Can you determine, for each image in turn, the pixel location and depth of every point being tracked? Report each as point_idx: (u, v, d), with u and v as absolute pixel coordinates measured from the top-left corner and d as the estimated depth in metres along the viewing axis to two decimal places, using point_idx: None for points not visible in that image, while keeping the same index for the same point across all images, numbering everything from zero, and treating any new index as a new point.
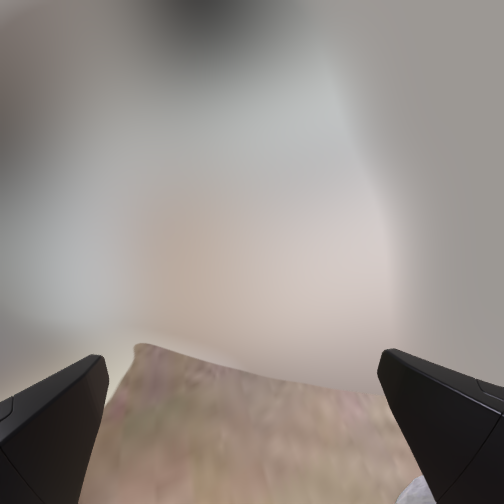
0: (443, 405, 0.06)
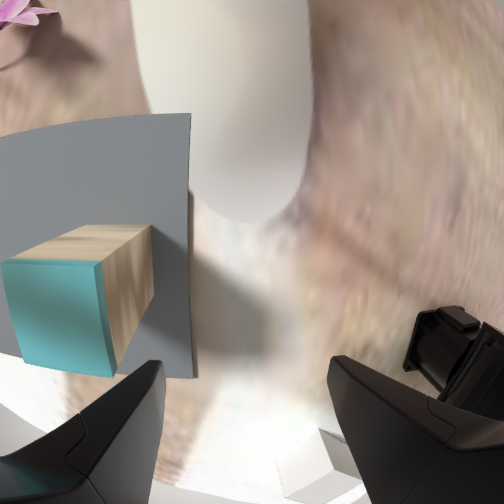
0: (384, 423, 0.06)
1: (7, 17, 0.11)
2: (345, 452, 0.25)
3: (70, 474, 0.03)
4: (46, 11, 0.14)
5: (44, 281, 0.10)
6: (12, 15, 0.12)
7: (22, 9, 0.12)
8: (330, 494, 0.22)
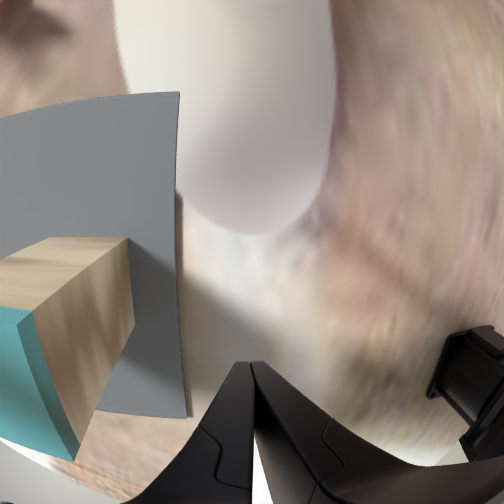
0: (277, 441, 0.05)
1: None
2: None
3: (234, 494, 0.03)
4: None
5: None
6: None
7: None
8: None
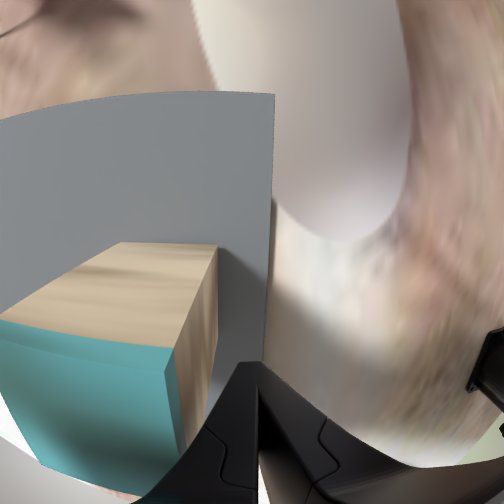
0: (273, 442, 0.05)
1: None
2: None
3: (239, 493, 0.03)
4: None
5: (57, 379, 0.05)
6: None
7: None
8: None
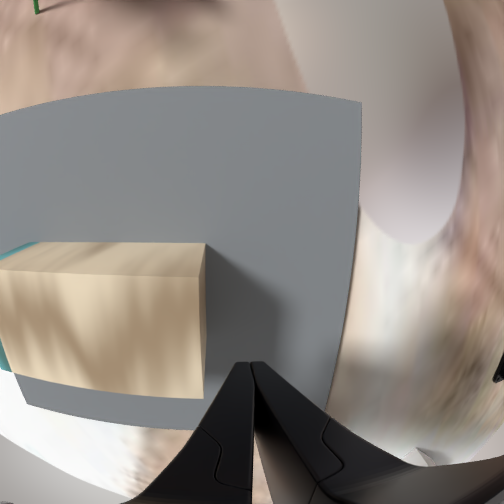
0: (277, 442, 0.05)
1: None
2: None
3: (233, 494, 0.03)
4: None
5: None
6: None
7: None
8: None
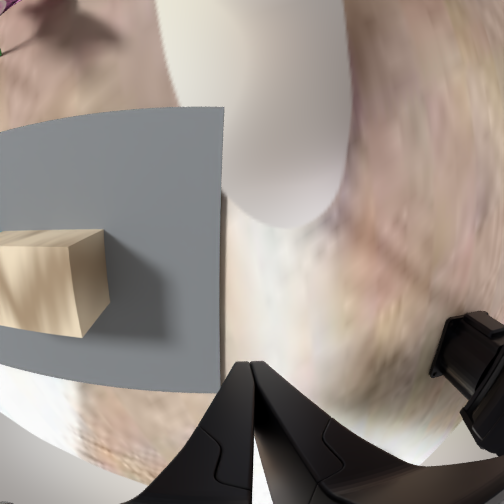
0: (277, 441, 0.05)
1: None
2: None
3: (234, 493, 0.03)
4: None
5: None
6: None
7: None
8: None
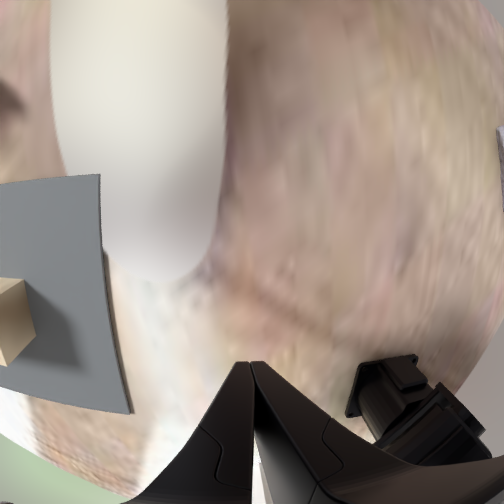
0: (277, 441, 0.05)
1: None
2: None
3: (233, 493, 0.03)
4: None
5: None
6: None
7: None
8: None
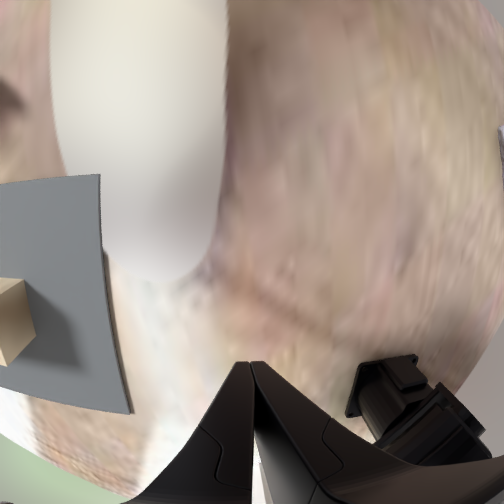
0: (277, 441, 0.05)
1: None
2: None
3: (234, 493, 0.03)
4: None
5: None
6: None
7: None
8: None
